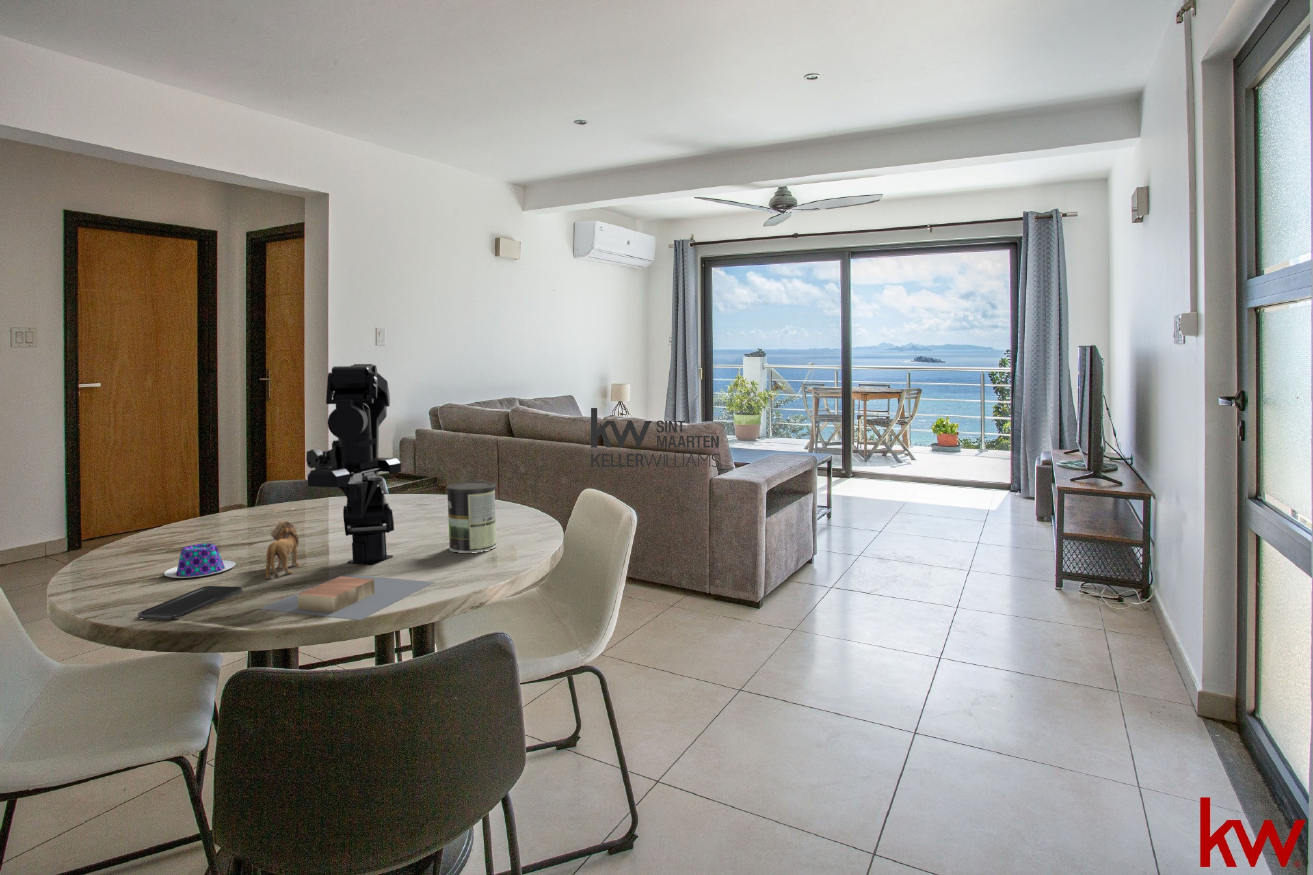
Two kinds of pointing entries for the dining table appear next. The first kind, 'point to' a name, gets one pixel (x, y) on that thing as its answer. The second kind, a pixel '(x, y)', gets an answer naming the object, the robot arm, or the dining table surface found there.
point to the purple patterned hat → (199, 562)
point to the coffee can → (471, 516)
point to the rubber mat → (383, 597)
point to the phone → (189, 602)
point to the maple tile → (335, 594)
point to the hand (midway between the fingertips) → (359, 517)
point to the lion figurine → (282, 548)
